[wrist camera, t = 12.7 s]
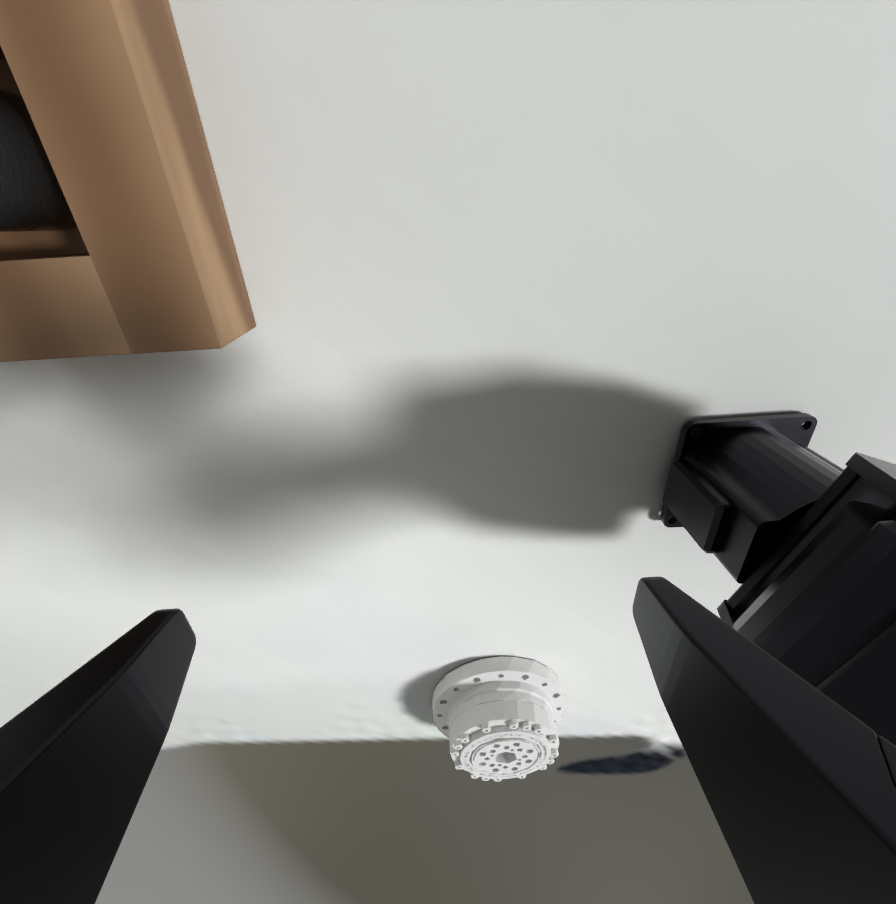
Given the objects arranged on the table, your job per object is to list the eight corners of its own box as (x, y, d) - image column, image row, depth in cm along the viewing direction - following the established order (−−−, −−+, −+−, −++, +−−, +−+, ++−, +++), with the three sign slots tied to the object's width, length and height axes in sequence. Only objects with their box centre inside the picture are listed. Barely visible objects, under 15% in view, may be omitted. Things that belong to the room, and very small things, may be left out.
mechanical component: (585, 666, 31) (460, 640, 29) (606, 730, 27) (464, 704, 25) (527, 737, 36) (415, 717, 34) (538, 799, 32) (413, 782, 30)
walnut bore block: (143, -92, 12) (48, -193, 9) (256, 326, 18) (220, 348, 15) (-271, -69, 12) (-504, -163, 9) (-23, 343, 18) (-115, 368, 15)
